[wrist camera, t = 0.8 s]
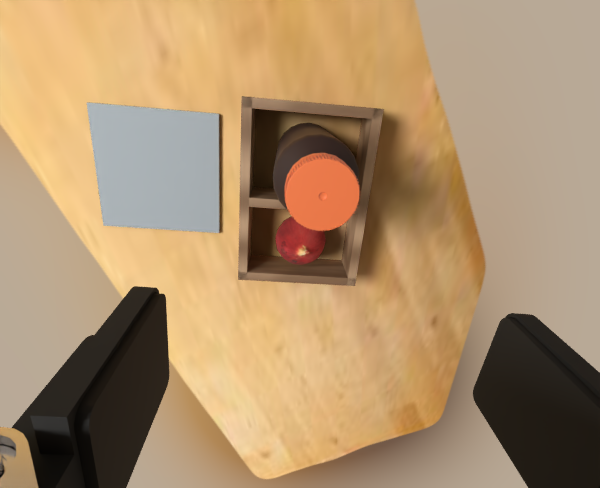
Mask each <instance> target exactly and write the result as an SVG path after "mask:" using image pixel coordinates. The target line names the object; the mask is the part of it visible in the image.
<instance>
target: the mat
mask: <svg viewBox="0 0 600 488" xmlns="http://www.w3.org/2000/svg"><path fill="white" fill-rule="evenodd" d="M87 108H88V115H89V123H90V130H91V137H92V145H93V152H94V159H95V167H96V174H97V181H98V189H99V196H100V203H101V211H102V218H103V225H104V226H119V227H135V228H150V229H166V230H182V231H197V232H213V233H219V232H220V132H219V114H216V113H204V112H193V111H181V110H170V109H158V108H146V107H135V106H123V105H112V104H100V103H87Z"/></svg>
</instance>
